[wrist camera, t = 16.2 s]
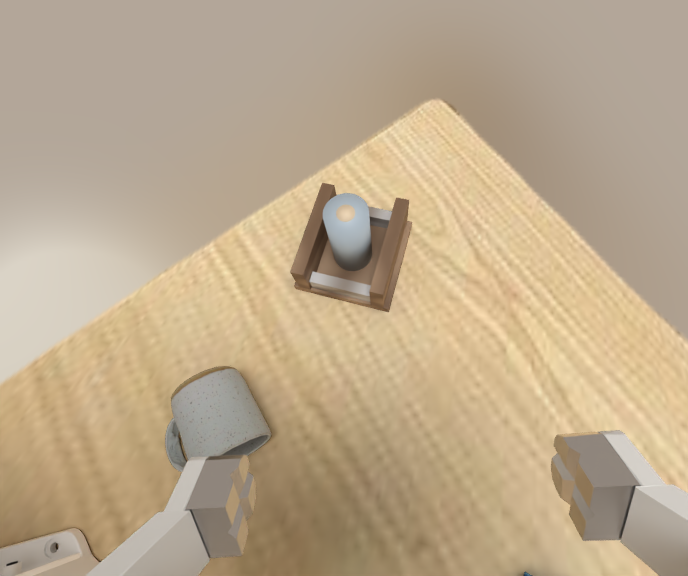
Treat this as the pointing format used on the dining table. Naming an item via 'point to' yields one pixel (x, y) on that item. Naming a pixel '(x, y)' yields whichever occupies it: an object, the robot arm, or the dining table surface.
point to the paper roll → (349, 231)
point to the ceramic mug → (214, 417)
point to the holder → (363, 285)
